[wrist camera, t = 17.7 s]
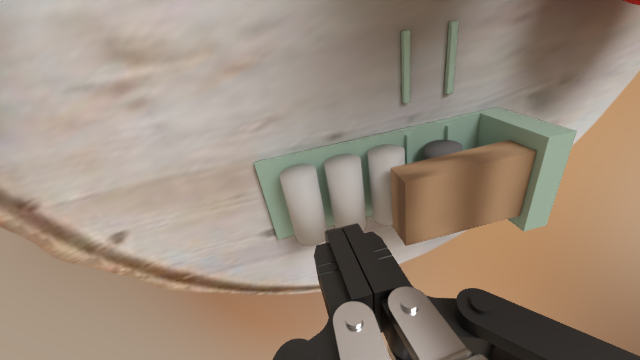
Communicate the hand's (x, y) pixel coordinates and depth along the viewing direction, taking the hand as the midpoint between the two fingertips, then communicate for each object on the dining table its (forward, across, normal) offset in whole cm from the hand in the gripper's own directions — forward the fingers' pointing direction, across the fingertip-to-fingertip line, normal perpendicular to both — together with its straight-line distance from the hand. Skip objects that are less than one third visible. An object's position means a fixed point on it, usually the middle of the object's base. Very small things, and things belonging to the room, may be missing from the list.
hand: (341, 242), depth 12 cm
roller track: (+16, -9, +7) cm, 20 cm away
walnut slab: (+11, -14, +7) cm, 19 cm away
